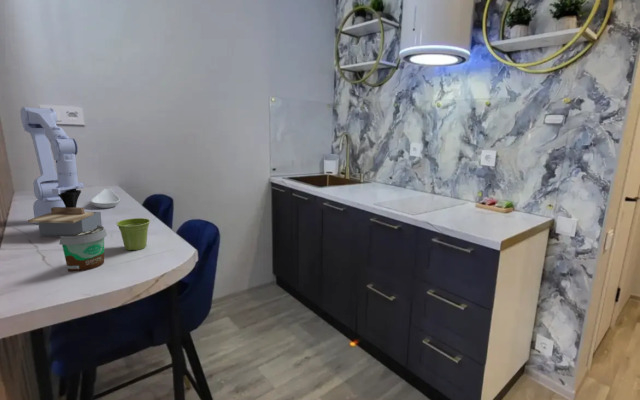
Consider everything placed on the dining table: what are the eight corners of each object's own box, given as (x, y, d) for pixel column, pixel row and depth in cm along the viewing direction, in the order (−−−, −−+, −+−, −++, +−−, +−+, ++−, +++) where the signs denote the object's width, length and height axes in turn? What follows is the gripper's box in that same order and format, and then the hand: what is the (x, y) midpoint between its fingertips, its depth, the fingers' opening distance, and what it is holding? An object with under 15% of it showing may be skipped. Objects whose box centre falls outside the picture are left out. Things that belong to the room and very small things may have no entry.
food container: (82, 276, 87) (78, 239, 85) (62, 273, 88) (58, 236, 86) (119, 259, 98) (116, 226, 97) (101, 256, 100) (98, 224, 98)
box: (40, 236, 115) (37, 219, 114) (62, 226, 127) (61, 211, 126) (83, 236, 117) (81, 219, 116) (101, 226, 128) (100, 211, 127)
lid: (28, 222, 110) (26, 213, 109) (53, 213, 122) (52, 205, 121) (73, 223, 111) (72, 214, 111) (94, 214, 123) (93, 206, 122)
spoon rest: (120, 209, 157) (119, 194, 156) (90, 211, 152) (88, 195, 151) (122, 199, 178) (121, 186, 176) (95, 200, 172) (94, 187, 171)
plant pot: (129, 255, 102) (126, 227, 100) (112, 248, 107) (110, 222, 105) (157, 246, 110) (156, 221, 108) (141, 241, 115) (139, 216, 113)
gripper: (66, 176, 112) (70, 215, 114) (91, 171, 126) (94, 206, 128) (43, 175, 111) (48, 215, 114) (70, 170, 125) (74, 206, 128)
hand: (71, 210), depth 121 cm, fingers closed
